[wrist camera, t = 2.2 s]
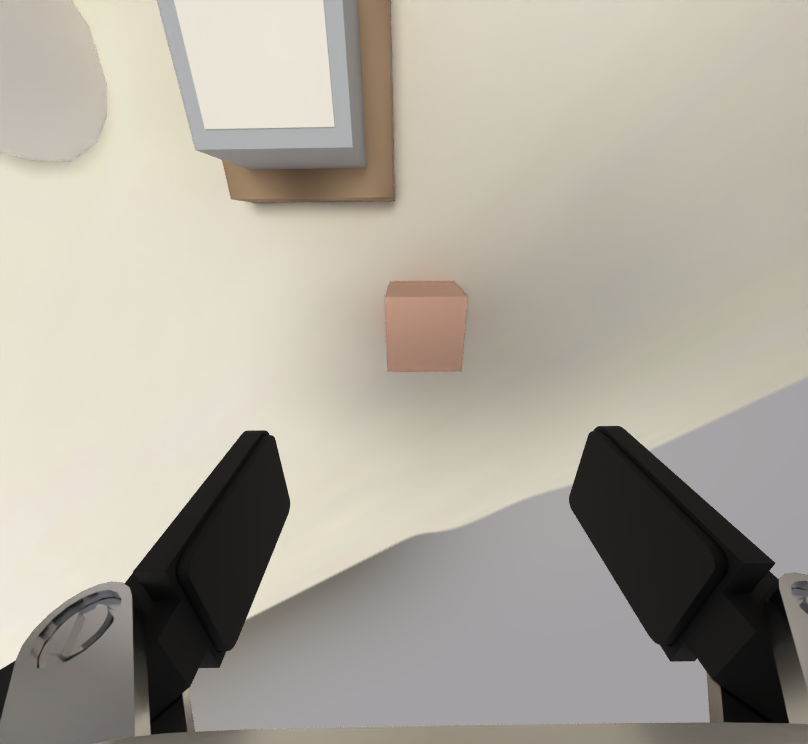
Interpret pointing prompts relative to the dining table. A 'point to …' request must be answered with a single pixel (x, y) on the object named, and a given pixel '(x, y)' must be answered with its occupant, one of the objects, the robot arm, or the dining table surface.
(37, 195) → the dining table surface
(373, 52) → the plinth
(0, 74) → the teardrop
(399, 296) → the terracotta block
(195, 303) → the dining table surface
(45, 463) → the dining table surface
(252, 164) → the grey block
